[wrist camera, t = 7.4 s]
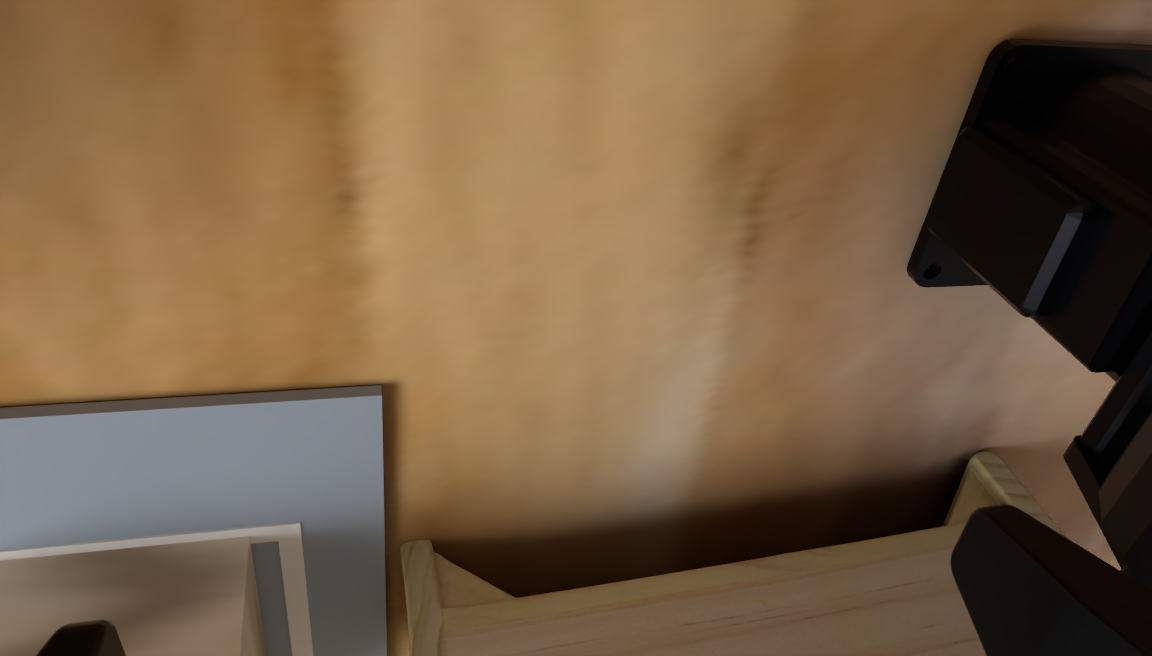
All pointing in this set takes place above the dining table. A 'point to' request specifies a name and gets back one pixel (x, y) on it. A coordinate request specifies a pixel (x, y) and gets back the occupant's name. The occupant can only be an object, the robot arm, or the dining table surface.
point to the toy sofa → (729, 599)
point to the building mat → (218, 496)
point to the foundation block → (139, 598)
